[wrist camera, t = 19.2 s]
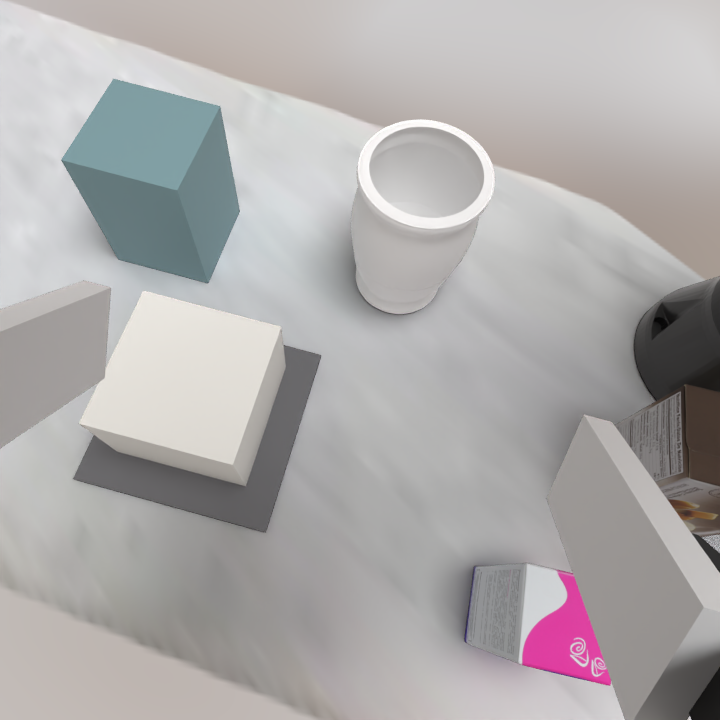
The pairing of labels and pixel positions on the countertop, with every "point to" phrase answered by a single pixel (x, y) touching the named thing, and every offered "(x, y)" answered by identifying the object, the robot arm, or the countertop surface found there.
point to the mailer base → (157, 178)
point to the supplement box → (534, 620)
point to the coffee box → (682, 453)
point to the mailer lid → (189, 388)
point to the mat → (210, 493)
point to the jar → (416, 210)
